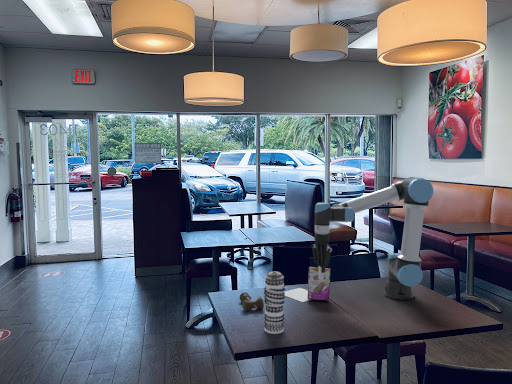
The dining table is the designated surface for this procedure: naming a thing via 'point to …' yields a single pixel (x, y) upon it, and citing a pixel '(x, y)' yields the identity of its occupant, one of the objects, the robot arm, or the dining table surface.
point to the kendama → (251, 302)
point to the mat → (298, 294)
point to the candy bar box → (318, 285)
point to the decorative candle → (274, 303)
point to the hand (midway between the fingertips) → (321, 278)
